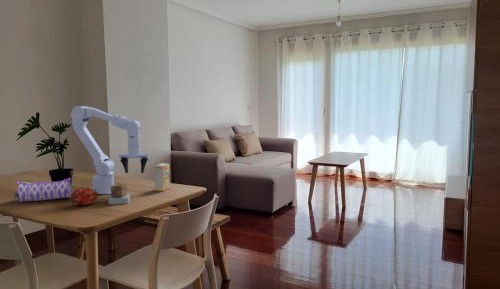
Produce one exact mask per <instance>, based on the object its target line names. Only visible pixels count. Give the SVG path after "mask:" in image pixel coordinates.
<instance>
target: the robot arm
mask: <svg viewBox="0 0 500 289" xmlns="http://www.w3.org/2000/svg"><path fill="white" fill-rule="evenodd" d="M69 116H70V117H71V121H72V122H71V123H72V129H73V131H74V132H75V134H76V135H77V137H78V138H79V140H80V141H81V142H82V144H83V146H84V147H85V149H86V150H87V152H88V153H89V155H90V157H91V158H92V159H93V165H94V168H95V172H96V173H97V174H94V175H93V176H92V179H91V180H92V181H91V182H92V190H94V191H96V192H97V193H98V194H99V195H111V186H112V185H114V184H115V178H114V177H115V175H114V174H115V173H114V170H115V169H116V163H115V161H113V160H112V159H110V158H109V156H108V155H106V154H105V153H104V152H103V150H102V149H101V147H100V146H99V144H98V143H97V142H96V140H95V139H94V137H93V135H92V134H91V132H90V131H89V129H88V128H87V126H88V123H89V121H90V119H91V118H98V119H101V120H104V121H107V122H110V123H111V125H112V126H113V127H115V128H119V129H122V130H125V131H126V132H127V153H119V154H118V159H120V160H119V161H120V162H121V164H122V166H123V170H124V172H125V174H129V159H139V160H140V173H141V174H144V172H145V168H146V164H147V162H148V160H149V159H150V155H151V154H150V153H141V136H140V133H141V132H140V130H141V127H142V125H141V123H140V121H138V120H137V119H134V120H133V119H132V118H130V117H125V116H123V114H121V113H119V114H118V113H117V114H115V115H112V114H110V113H107V112H105V111H102V110H101V109H98V108H96V107H91V106H87V105H82V106H81V105H76V106H74V107H73V108H72V110H71V112H70V115H69Z"/></svg>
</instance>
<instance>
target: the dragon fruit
mask: <svg viewBox="0 0 500 289" xmlns="http://www.w3.org/2000/svg"><path fill="white" fill-rule="evenodd" d="M99 196H100V194H98V193H97V192H96V191H94V190H93V189H91V188H90V186H87V187H86V188H85V186H82V187H80V188H75V189H73V192H71V194H70V197H69V198H70V200H71V203H72V204H73V205H74V204H77V206H84V207H85V206H86V205H91V206H92V205H94V204H95V201H96V200H97V198H98V197H99Z"/></svg>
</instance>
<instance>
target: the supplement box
mask: <svg viewBox="0 0 500 289" xmlns="http://www.w3.org/2000/svg"><path fill="white" fill-rule="evenodd" d="M170 184H171V183H170V163H159V164H157V165H156V164H155V165H154V191H155V192H165V191H166V190H168V189H170V188H171V187H170Z"/></svg>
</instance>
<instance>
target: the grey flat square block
mask: <svg viewBox="0 0 500 289" xmlns="http://www.w3.org/2000/svg"><path fill="white" fill-rule="evenodd" d="M130 201H131V194H130V193H127V195H126V196H124V197H111V195H110V196H109V198H108V205H109V204H110V205H128V204H129V202H130Z"/></svg>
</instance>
